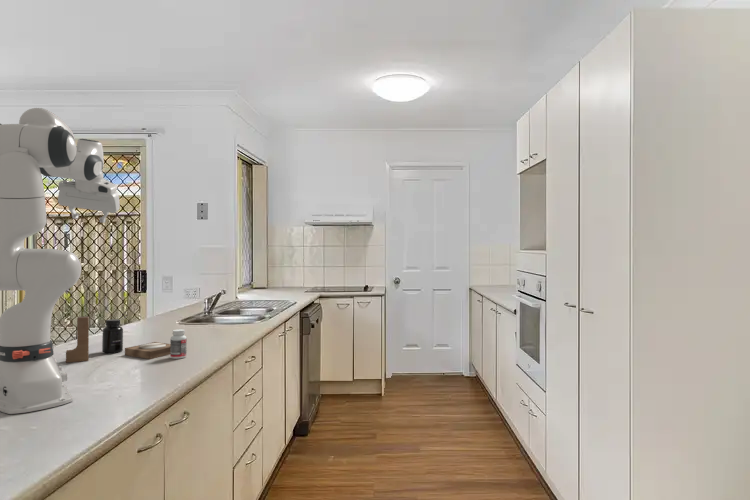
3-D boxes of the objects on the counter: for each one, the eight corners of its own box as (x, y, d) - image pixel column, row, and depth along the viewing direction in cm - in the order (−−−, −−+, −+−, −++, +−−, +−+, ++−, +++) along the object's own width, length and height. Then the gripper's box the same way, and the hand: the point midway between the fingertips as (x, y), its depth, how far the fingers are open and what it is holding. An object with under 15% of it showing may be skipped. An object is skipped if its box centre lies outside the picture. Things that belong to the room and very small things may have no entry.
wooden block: (88, 359, 176) (88, 316, 176) (88, 361, 173) (88, 317, 173) (66, 360, 173) (66, 317, 173) (65, 362, 170) (65, 318, 170)
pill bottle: (184, 359, 177) (184, 331, 177) (168, 359, 177) (168, 331, 177) (188, 355, 183) (188, 328, 183) (172, 355, 182) (172, 328, 182)
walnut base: (179, 352, 188) (179, 344, 188) (150, 359, 177) (150, 350, 177) (154, 348, 194) (154, 340, 194) (124, 355, 182) (124, 347, 182)
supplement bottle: (116, 354, 184) (117, 321, 184) (98, 353, 184) (98, 321, 184) (126, 350, 191) (126, 318, 191) (108, 350, 191) (108, 318, 191)
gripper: (54, 180, 178) (54, 218, 182) (115, 190, 181) (114, 226, 185) (63, 177, 184) (63, 213, 188) (122, 186, 187) (120, 222, 191)
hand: (89, 220), depth 187 cm, fingers open, 8 cm apart
